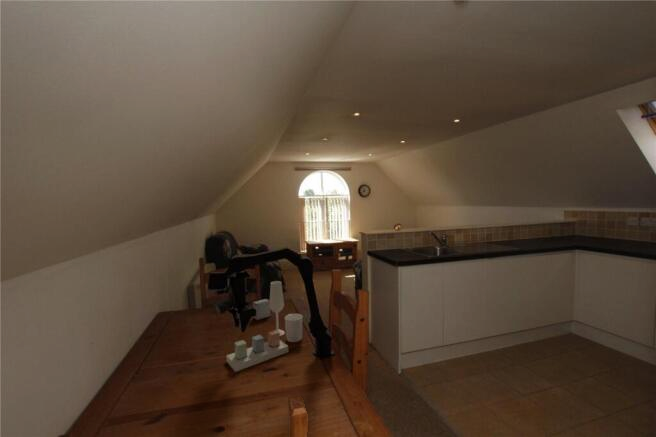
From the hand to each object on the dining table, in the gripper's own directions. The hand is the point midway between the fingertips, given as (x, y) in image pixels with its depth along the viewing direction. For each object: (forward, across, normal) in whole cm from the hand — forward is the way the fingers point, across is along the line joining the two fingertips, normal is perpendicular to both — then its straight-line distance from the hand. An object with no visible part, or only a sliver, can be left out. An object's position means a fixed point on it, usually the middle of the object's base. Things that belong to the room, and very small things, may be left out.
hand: (239, 329), depth 111 cm
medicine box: (+13, -37, +26) cm, 47 cm away
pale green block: (+10, 0, 0) cm, 10 cm away
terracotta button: (+10, 0, +14) cm, 17 cm away
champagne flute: (+13, -14, +23) cm, 30 cm away
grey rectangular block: (+10, 0, +7) cm, 12 cm away
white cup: (+13, -4, +26) cm, 29 cm away
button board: (+13, 0, +7) cm, 15 cm away
